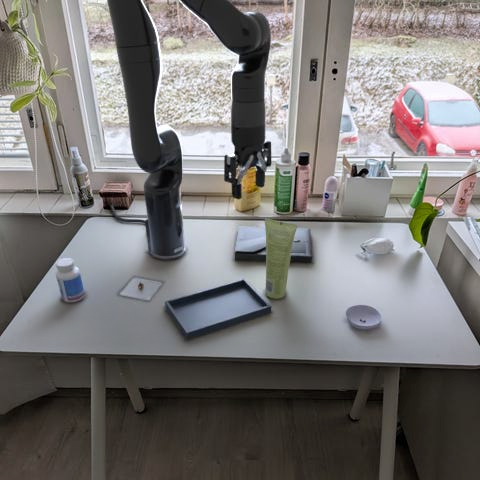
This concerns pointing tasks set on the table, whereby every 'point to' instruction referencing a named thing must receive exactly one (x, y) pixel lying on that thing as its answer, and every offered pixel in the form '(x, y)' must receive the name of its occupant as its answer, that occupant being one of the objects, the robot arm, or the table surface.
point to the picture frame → (254, 245)
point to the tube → (278, 256)
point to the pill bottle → (69, 280)
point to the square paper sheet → (141, 288)
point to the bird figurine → (376, 246)
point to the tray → (216, 308)
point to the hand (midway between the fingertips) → (248, 192)
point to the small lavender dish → (363, 317)
